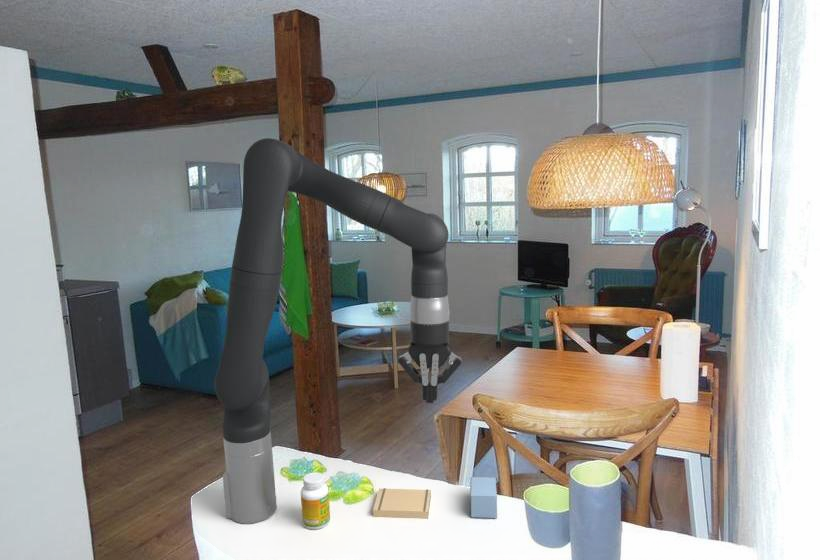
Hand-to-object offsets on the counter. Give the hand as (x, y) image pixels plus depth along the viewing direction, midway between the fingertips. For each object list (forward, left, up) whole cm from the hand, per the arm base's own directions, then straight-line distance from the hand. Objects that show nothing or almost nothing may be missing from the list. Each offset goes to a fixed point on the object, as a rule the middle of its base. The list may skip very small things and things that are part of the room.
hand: (430, 401), depth 118 cm
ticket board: (-6, -1, -23) cm, 23 cm away
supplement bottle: (-23, -8, -23) cm, 33 cm away
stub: (+10, -1, -22) cm, 25 cm away
